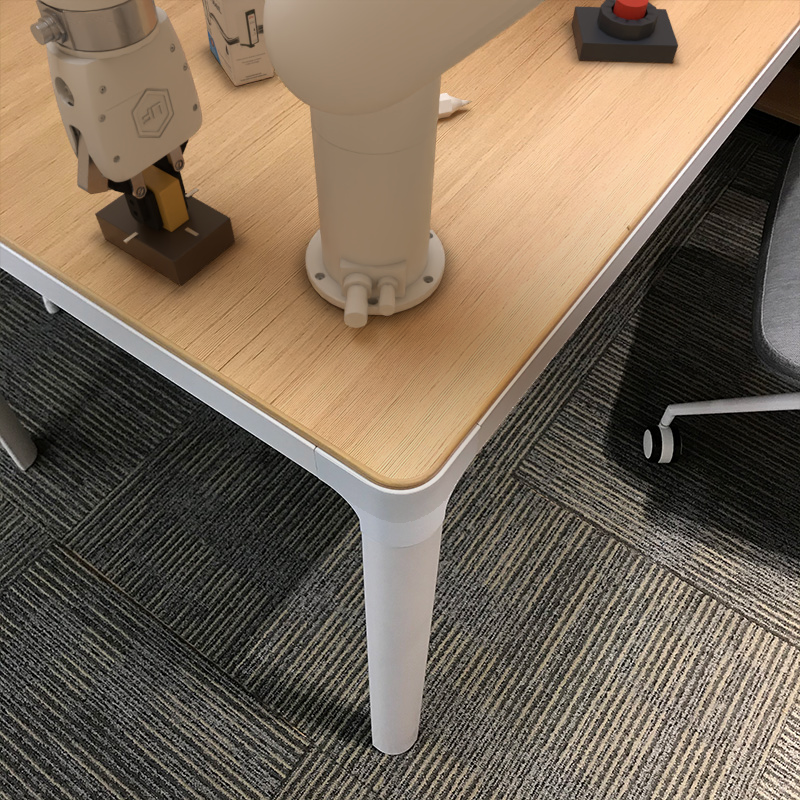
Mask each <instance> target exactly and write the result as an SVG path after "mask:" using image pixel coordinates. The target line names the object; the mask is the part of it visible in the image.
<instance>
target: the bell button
mask: <svg viewBox="0 0 800 800" xmlns="http://www.w3.org/2000/svg"><path fill="white" fill-rule="evenodd" d="M648 2H650V1H649V0H616V2H615V6H614V10H613V13H614V14H615V15H616V16H618V17H620V18H623V19H627V20H639V19H642V18H644V15H645V12H646V8H647V5H648Z"/></svg>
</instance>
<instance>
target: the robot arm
mask: <svg viewBox="0 0 800 800" xmlns="http://www.w3.org/2000/svg"><path fill="white" fill-rule="evenodd" d="M545 1H546V0H265V5H264V14H263V31H264V39H265V44H266V48H267V52H268V56H269V58H270V61H271V64H272V66H273V71H274V72H275V74H276V75H277V77H278V78H279V80H280V82H282V84H283V85H284V87H285V88H286V89H287V90H288V91H289V92H290V93H291V94H292V95H293V96H295V97H296V98H297V99H298V100H299V101H301V102H303V103H304V104H305V105H307V106H309V112H310V113H309V114H310V126H311V138H312V150H313V162H314V172H315V184H316V185H315V186H316V195H317V208H318V218H319V219H318V220H319V228H318V229H317V230H316V232H314V234H313V236H312V237H311V238H310V239H309V242H308V244H307V247H306V249H305V256H304V257H305V258H304V261H305V270H306V274H307V278H308V280H309V282H310V284H311V285H312V287H313V289H314V290H315V292H317V293H318V294H319V295H320V297H321V298H323V299H324V300H326V301H327V302H328V303H330V304H331V305H334V306H336V307H337V308H339V309H342V310H344V311H343V312H344V313H343V322H344V324H345V325H346V326H347V327H350V328H352V329H353V328H354V329H360V328H363V327H365V326H366V325H367V322H368V318H369V317H368V316H378V315H379V316H381V315H382V316H384V317H385V316H386V317H388V316H392V315H394V314H396V313H400V312H403V311H406V310H410V309H412V308H413V307H415V306H418V305H420V304H421V303H423V302H424V301H425V300H427V299H428V298H430V297H431V296H432V294H433V293H434V292H435V291H436V290H437V289H438V287H439V286H440V283H441V282H442V281H443V277H444V273H445V268H446V253H445V248H444V246H443V244H442V241H441V239H440V238H439V236H438V235H437V234H436V233H435V231H434V230H433V229H432V228H431V220H432V208H433V206H432V205H433V191H434V179H435V163H436V149H437V135H438V122H439V119H438V115H439V101H440V94H441V86H442V85H441V84H442V75H443V74H445V73H447V72H448V71H449V70H451V69H453V68H454V67H455V66H456V65H458V64H459V63H461V62H462V61H463V60H466V58H468V57H470V56H471V55H472V54H474V53H475V52H477V51H478V50H479V49H481V48H482V47H484V46H485V45H486V44H488V43H489V42H491V41H492V40H494V39H495V38H496V37H497V36H499V35H501V34H502V33H504V32H505V31H506V30H508V29H509V28H511V27H512V26H513V25H515V24H516V23H517V22H519V21H520V20H522V19H523V18H524V17H526V16H527V15H528V14H530V13H531V12H532V11H534V10H535V9H536V8H538V7H539V6H540V5H542V4H543V3H544V2H545ZM35 5H36V7H37V9H38V12H39V14H40V17H39V18H37V21H35V22H34V23H32V24H31V25H29V27H30V28H29V30H30V32H31V35H32V36H33V38H34V39H35V41H36V42H37V43H38V44H40V45H41V46H45V49H46V56H47V64H48V68H49V69H48V70H49V75H50V81H51V85H52V89H53V93H54V98H55V101H56V105H57V108H58V111H59V115H60V118H61V121H62V125H63V127H64V130H65V133H66V136H67V138H68V141H69V144H70V146H71V149H72V151H73V153H74V155H75V158H77V175H76V176H77V179H76V183H77V187H78V188H79V189H81V190H83V191H85V192H86V193H88V194H89V195H95V194H101V193H107V192H109V191H114V192H117V193H120V194H124V195H125V198H126V201H127V204H128V207H129V210H130V213H131V215H132V217H133V218H134V219H135V220H136V221H138V222H139V223H141V224H143V223H145V224H147V225H148V226H150V227H152V228H153V229H155V230H157V231H159V230H160V229H162V228H163V225H164V224H163V221H162V217H161V214H160V211H159V208H158V204H157V201H156V198H155V195H154V193H153V192H152V191H150V190H149V189H147V188H146V184H145V181H144V177H143V174H142V171H143V170H145V169H146V168H148V167H149V166H151V165H153V166H155V167H157V168H159V169H160V170H162V171H164V172H166V173H168V174H169V175H171V176H173V177H175V178H176V179H178V180H179V183H180V187H181V191H182V194H183V198H184V202H185V206H186V209H188V204H187V200H186V197H185V193H186V188H185V184H184V181H183V177H182V174H181V172H182V171H183V169H184V168H185V164H186V163H185V158H184V153H185V151H186V148H187V146H188V143H189V140H190V139H191V138H192V137H194V136H195V135H196V134H197V133H198V132H199V130H200V129H201V127H202V126H203V125H202V124H203V112H202V106H201V102H200V98H199V95H198V90H197V87H196V84H195V80H194V77H193V74H192V71H191V68H190V65H189V62H188V59H187V55H186V53H185V51H184V48H183V46H182V43H181V41H180V39H179V36H178V34H177V31H176V29H175V27H174V26H173V23H172V21H171V19H170V17H169V16H168V13H167V12H166V11H165V10H164V8H161V7H160V6H157V5H156V3H155V0H35Z"/></svg>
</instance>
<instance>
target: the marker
mask: <svg viewBox="0 0 800 800" xmlns="http://www.w3.org/2000/svg"><path fill="white" fill-rule="evenodd" d="M470 103H473V101H472V100H467V99H461V98H458V97H455V96H452V95H449V93H448V92H443V93H440V101H439V115H438V120H439V119H444V118H449V117H451V115H452V114H453V113H455V112H457V111H458V110H460V109H461V108H464V107H465V106H467V105H469V104H470Z"/></svg>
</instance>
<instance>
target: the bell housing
mask: <svg viewBox="0 0 800 800" xmlns="http://www.w3.org/2000/svg"><path fill="white" fill-rule="evenodd" d="M615 2H616V0H604V1H603V3H601V4H600V6H579V5H578V6H575V7H574V12H573V14H572V19H571V27H572V33H573V37H574V42H575V47H576V53H577V57H578V61H584V62H585V61H587V62H588V61H589V62H590V61H591V62H618V63H619V62H621V63H623V62H624V63H653V64H673V62H674V60H675V57H676V54H677V50H678V47H679V43H678V41H677V40H678V39H677V38H676V34H675V31H674V28H673V25H672V23H671V20H670V18H669V17H670V16H669V14H668V11H667V9H666V8H657V7H656V5H654V4H652V3H651V2H650V1H648V5H647V8H646V12H645V15H644V18H642V19H639V20H627V19H623V18H620V17H618V16H616V15H615V14H614V13H613V10H614V6H615Z"/></svg>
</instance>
